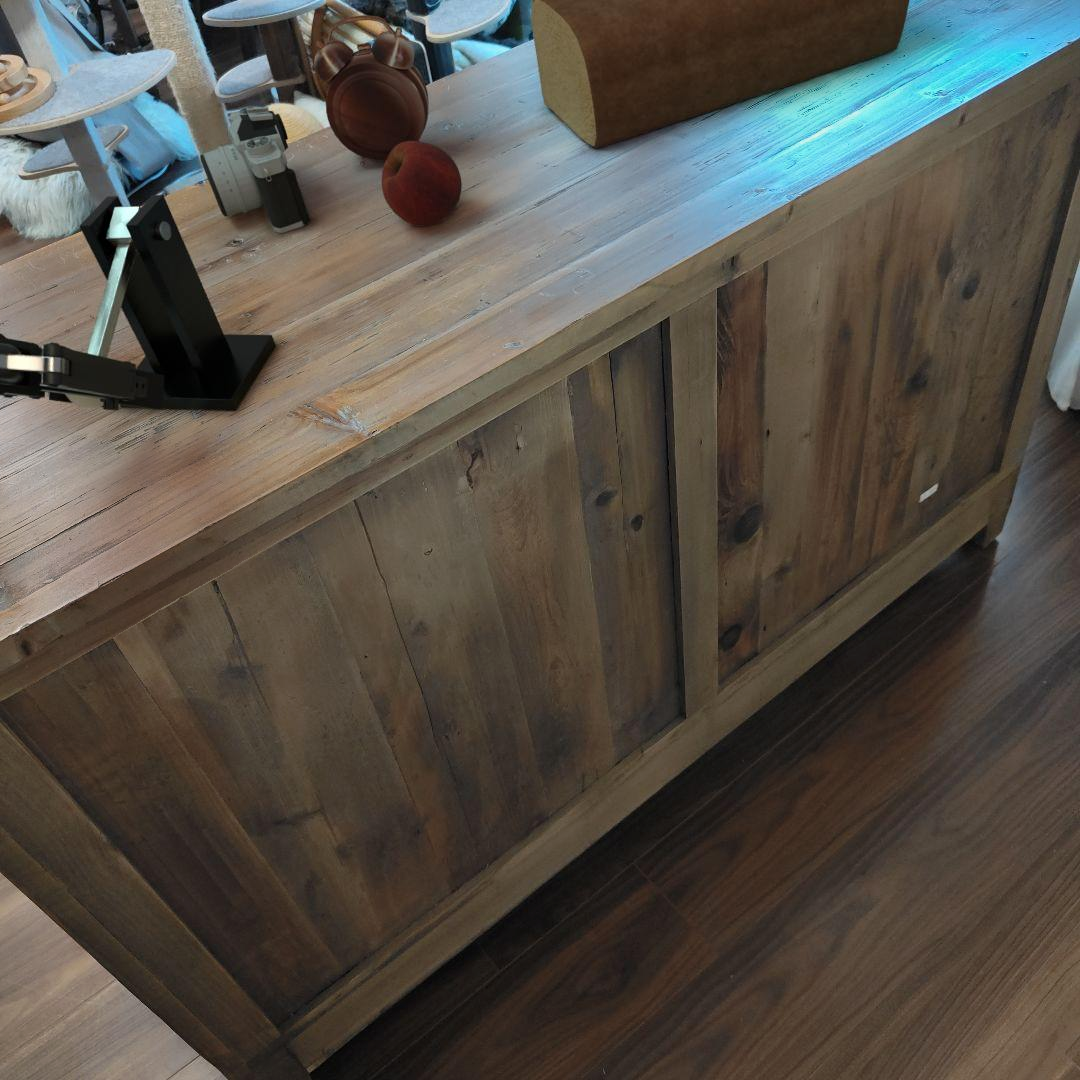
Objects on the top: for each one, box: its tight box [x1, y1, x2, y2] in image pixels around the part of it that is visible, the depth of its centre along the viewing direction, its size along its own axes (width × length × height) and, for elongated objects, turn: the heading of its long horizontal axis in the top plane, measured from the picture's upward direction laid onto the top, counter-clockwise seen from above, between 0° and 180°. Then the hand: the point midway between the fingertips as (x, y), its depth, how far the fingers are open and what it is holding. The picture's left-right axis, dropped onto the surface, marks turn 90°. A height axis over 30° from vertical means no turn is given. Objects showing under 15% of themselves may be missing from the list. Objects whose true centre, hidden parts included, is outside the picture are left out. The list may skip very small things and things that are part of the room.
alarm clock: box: [313, 14, 430, 167], centre depth 106 cm, size 11×5×15 cm, turn 88°
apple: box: [381, 140, 463, 227], centre depth 98 cm, size 7×8×8 cm
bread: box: [530, 0, 910, 149], centre depth 109 cm, size 16×39×13 cm, turn 113°
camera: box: [199, 106, 311, 234], centre depth 104 cm, size 16×9×10 cm, turn 23°
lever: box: [65, 205, 142, 410], centre depth 76 cm, size 16×4×4 cm, turn 169°
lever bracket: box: [79, 194, 277, 412], centre depth 82 cm, size 9×11×16 cm
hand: (135, 391), depth 79 cm, fingers closed on lever, 4 cm apart
